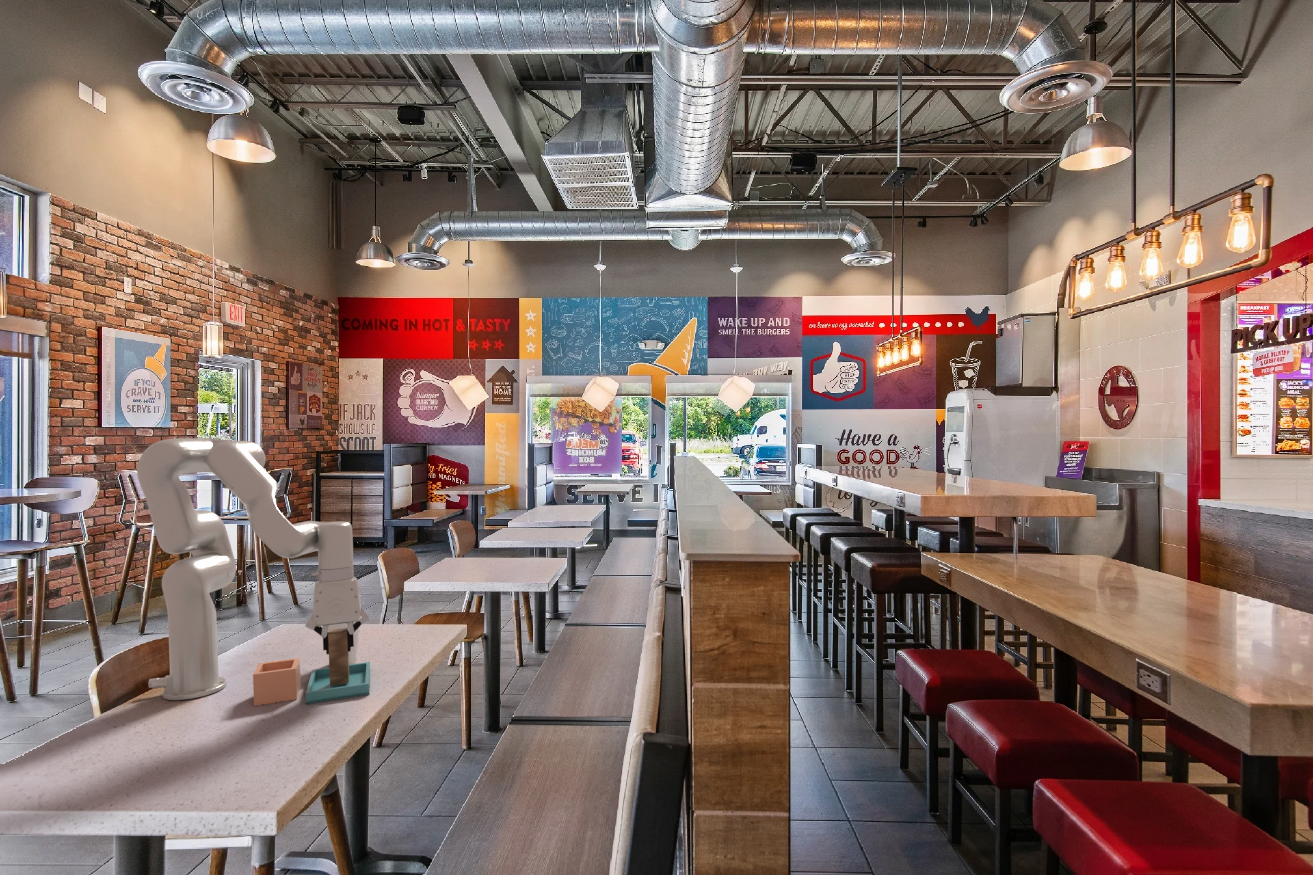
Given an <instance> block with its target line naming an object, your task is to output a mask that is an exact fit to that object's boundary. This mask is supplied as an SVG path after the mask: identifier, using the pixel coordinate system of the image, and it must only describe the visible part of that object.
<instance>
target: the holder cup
mask: <svg viewBox="0 0 1313 875" xmlns="http://www.w3.org/2000/svg"><path fill="white" fill-rule="evenodd" d="M252 683H253V684H252V686H253V687H252V689H253V707H257V706H261V704H264V705H269V704H270V705H271V704H275V702H277V703H281V702H280V701H283V702H290V701H296V700H295V699H297V700H298V697H299V694H300V690H301V687H302V685H301V684H302V682H301V657H295V658H289V659H281V660H273V661H267V662H266V661H264V662H259V663H258V665H257V666H256V668H255V670H254V671H253V674H252ZM289 700H290V701H289ZM256 705H257V706H256Z"/></svg>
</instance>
